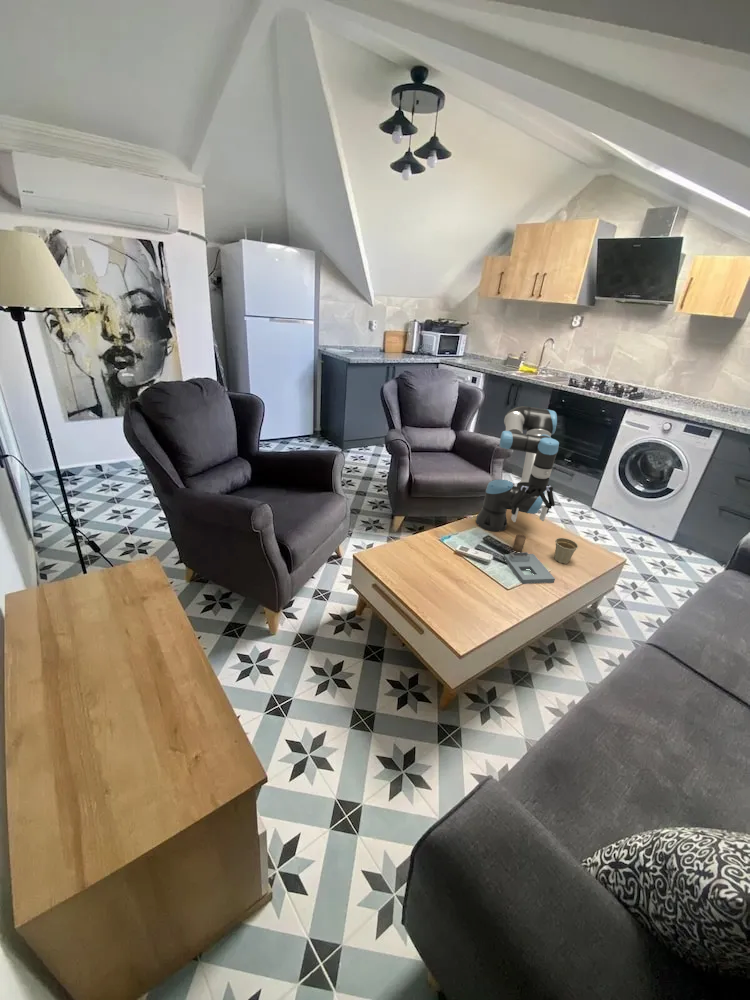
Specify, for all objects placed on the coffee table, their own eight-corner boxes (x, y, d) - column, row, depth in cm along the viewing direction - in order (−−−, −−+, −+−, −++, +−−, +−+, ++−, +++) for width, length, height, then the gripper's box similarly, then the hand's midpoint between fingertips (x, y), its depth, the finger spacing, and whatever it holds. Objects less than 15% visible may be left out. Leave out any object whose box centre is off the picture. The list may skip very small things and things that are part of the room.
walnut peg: (510, 549, 190) (514, 534, 187) (519, 548, 191) (523, 533, 187) (514, 554, 186) (518, 539, 183) (523, 554, 187) (527, 539, 183)
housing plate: (503, 558, 182) (504, 554, 182) (532, 557, 185) (533, 553, 184) (522, 583, 167) (523, 579, 166) (553, 582, 169) (555, 578, 168)
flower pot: (548, 561, 183) (554, 544, 180) (551, 551, 191) (556, 535, 187) (571, 568, 180) (577, 551, 176) (573, 558, 187) (578, 541, 184)
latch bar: (508, 557, 180) (510, 551, 178) (525, 557, 181) (527, 551, 180) (511, 561, 177) (513, 555, 176) (529, 561, 178) (530, 555, 177)
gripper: (516, 479, 166) (505, 525, 175) (572, 479, 170) (557, 523, 180) (508, 471, 172) (497, 516, 182) (561, 471, 177) (548, 515, 187)
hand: (527, 520), depth 181 cm, fingers open, 13 cm apart
